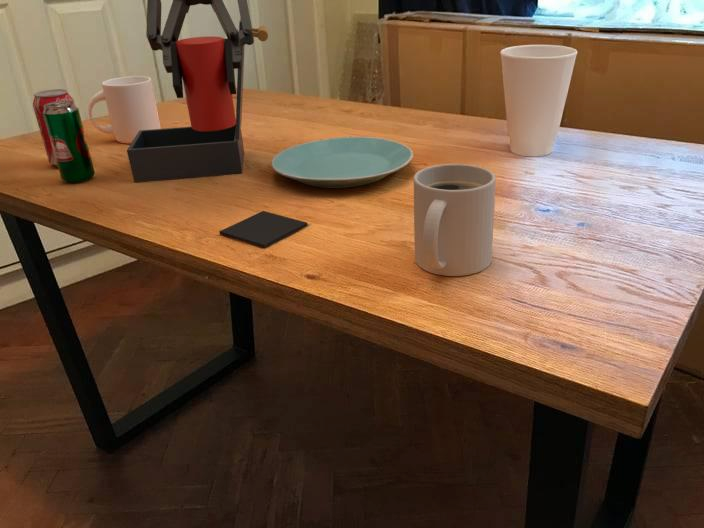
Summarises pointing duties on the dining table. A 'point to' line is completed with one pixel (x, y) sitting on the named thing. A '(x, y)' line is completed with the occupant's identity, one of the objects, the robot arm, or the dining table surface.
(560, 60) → the cup
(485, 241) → the mug
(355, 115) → the dining table surface
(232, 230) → the rubber mat
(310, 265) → the dining table surface
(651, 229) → the dining table surface
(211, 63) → the red cylinder
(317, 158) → the plate
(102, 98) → the mug
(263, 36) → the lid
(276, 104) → the dining table surface
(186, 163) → the dark grey open box
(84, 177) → the soda can
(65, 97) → the beverage can
